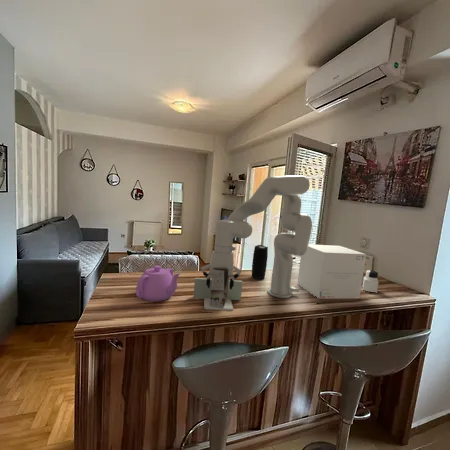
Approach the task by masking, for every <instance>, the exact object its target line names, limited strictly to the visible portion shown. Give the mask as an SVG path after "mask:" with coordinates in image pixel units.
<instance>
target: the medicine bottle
mask: <svg viewBox="0 0 450 450" xmlns="http://www.w3.org/2000/svg"><path fill="white" fill-rule="evenodd" d="M378 276H379V272H377V271H376V270H373V269H372V270H370V269H368V270H366V272H365V276H363V279H362V286H361V288H362V287H363V289H362V291H363V290H366V291H371V292H376V293H377V294H378V289H379V279H378V278H379V277H378Z"/></svg>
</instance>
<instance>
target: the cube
mask: <svg viewBox="0 0 450 450" xmlns="http://www.w3.org/2000/svg"><path fill="white" fill-rule="evenodd" d="M299 259H300V261H299V268H298V269H299V270H298V277H297V283H296V284H297V285H298V284H299V285H300V286H299V285H298V286H299V287H301V288H302V287H303V288H302V289H304V290H305V289H306V290H305V291H306V292H308V291H309V292H310V293H309V292H308V293H309V294H310V295H312V294H313V295H312V296H313V297H315V296H316V297H317V299H357V298H356V297H360V298H361V291H362V286H363V279H364V272H365V265H366V259H367V253H365V252H364V253H363V252H360V251H358V250H355V249H351V248H349V247H345V246H342V245H331V244H330V245H327V244H326V245H325V244H311V243H309V245H308V249H307V251H306V253H305V254H304V255H302V256H300V258H299ZM316 297H315V298H316Z"/></svg>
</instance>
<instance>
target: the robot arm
mask: <svg viewBox="0 0 450 450" xmlns="http://www.w3.org/2000/svg"><path fill="white" fill-rule="evenodd" d="M309 189H310V180H309V178H308V177H306V176H305V175H282V176H281V175H280V176H279V175H278V176H269V177H266V178H265V179H264V180H263V181H262V182H261V184H260V185H259V186H258V188H257V189H256V190H255V192H254V193H253V194H252V196H251V197H250V198H249V199H248V200H246V201H244V202H243V203H241V205H239V206H237V207H236V208H235V209H233V211H232V212H231V213H230V215H228V217H227V218H226V219H219V220H217V222H216V228H215V238H214V250H212V252H211V255H210V261H209V264H206V265H204V266H202V267H201V268H200V270H201V272H202V274H203V276H204V278H205V279H207V282H206V285H208V288H210V279H211V278H212V275H213V269H228V276H229V280H230V289H232V287H233V286H234V280H236V279H237V278H238V277H239V276H240V274H241V273H242V269H241V268H238V267H237V266H235V265H234V263H235V261H234V252H233V251H236V247H234V245H233V243H234V238H236V239H237V238H238V239H247V238H249V237H251V235H252V233H253V226H252V224H251V223H249V222H248V221H245V220H246V219H247V218H249V217H251V216H253V215H256V214H261V213H263V212H264V211H266V210H267V208H268V207H269V205H270V204H271V203H272V201H273V200H274V199H275V197H276V196H281V197H282V198H283V207H282V214H281V218H280V227H281V228H282V230H284V231H285V230H286V231H288V232H279V233H278V234H276V235H275V236H274V239H273V249H274V250H273V251H274V252H273V253H274V257H273V265H272V273H271V274H272V275H271V283H270V287H269V288H267V290H266V291H267V293H268V295H270V296H272V297H276V298H281V299H289V298H292V297H293V292H295V293H299V292H300V289H299V288H300V287H295V286H291V281H292V273H293V265H294V259H293V256H296V257H301V256H302V255H304V254H305V253H306V251H307V249H308V245H309V244H310V239H311V234H312V230H313V229H312V228H313V221H312V218H311V217H310V216H309V215H308V214H306V213H301V211H302V210H301V209H302V199H301V197H300V196H301V195H303V194H305V193H307V192H308V191H309ZM289 232H294V233H293V234H292V233H289ZM208 269H209V272H207V271H206V270H208ZM234 271H236V273H235V274H234Z"/></svg>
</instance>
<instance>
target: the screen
mask: <svg viewBox="0 0 450 450" xmlns="http://www.w3.org/2000/svg"><path fill="white" fill-rule="evenodd" d="M206 282H207V278H205V277H204V278H203V277H202V278H201V277H195V278H194V284H193V285H194V286H193V294H192V296H193V297H192V298H194V299H204V298H210V296H211V285H212V278H210V288H208V285H206ZM243 282H244V281H243V280H236V279H235V280H234V286H233V287H232V289H230V279H229V284H228V295H227V299H231V301H241V300H242V292H243V291H242V290H243Z"/></svg>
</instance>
